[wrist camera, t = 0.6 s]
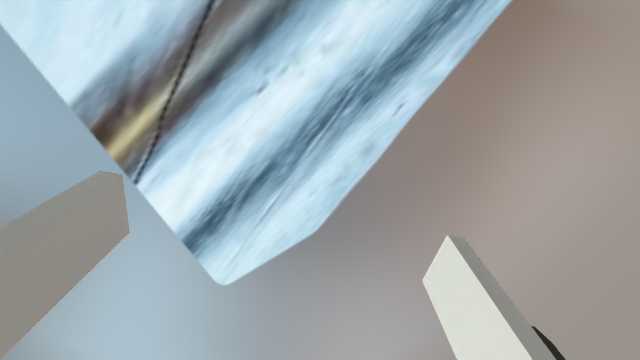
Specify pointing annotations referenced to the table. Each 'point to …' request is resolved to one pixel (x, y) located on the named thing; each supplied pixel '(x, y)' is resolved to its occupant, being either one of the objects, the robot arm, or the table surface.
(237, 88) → the table surface
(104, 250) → the robot arm
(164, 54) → the table surface
